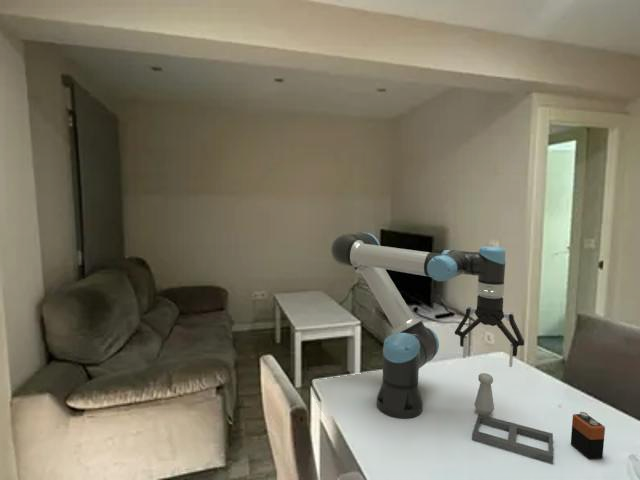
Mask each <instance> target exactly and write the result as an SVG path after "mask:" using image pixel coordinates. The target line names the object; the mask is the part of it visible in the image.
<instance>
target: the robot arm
mask: <svg viewBox="0 0 640 480" xmlns="http://www.w3.org/2000/svg"><path fill="white" fill-rule="evenodd" d="M330 247H331V248H330V253H331V255H332V256H331V257H332V258H333V260H334V261H335V262H336V263H337V264H339V265H342V266H349V267H352V268H353V269H354V271H355V273H358V274H360V275H362V277H363V278H364V280H365V282H366V283H367V285H368V287H369V288H370V290H371V292H372V294H373V295H374V297H375V298H376V301H377V302H378V304H379V306H380V308H381V309H382V311H383V313H384V314H385V316H386V317H387V319H388V321H389V323H390V325H391V327H392V328H393V329H394V330H393V333H392V334H389V335H388V336H386V338H385V339H384V341H383V347H382V383H381V384H380V388H379V391H378V394H377V396H376V406H377V409H378V410H379V411H380V412H382V413H384V414H385V415H387V416H389V417H393V418H398V419H411V418H416V417H417V416H420V415H421V414H422V412H423V410H424V402H423V401H424V400H423V397H422V394H421V391H420V389H419V374H420V373H419V371H420V368H422V367H423V366H425V365H426V364H427V363H428V362H430V361H432V360H433V359H434V358H435V356H436V355H438V352H439V349H440V342H439V337H438V336H437V333H435V331H434V330H433V329H432V328H430V327H427V326H425V324H424V323H423V320H422V319H418V318H416V317H415V316H414V314H413V312H412V311H411V309H410V308H409V306H408V304H407V303H406V301H405V299H404V298H403V297H402V296H403V295H401V292H400V291H399V290H398V288H397V287H396V284H395V283H394V282H393V280H392V279H391V277H390V275H389V273H388V272H387V271H388V270H389V271H394V272H400V273H406V274H411V275H419V276H425V277H429V278H431V279H432V280H434V281H436V282H447V281H450V280H451V279H453V278H455V277H458V276H460V275H468V276H476V277H478V278H477V294H478V295H477V298H476V299H477V301H476V309H474V308H471V307H470V306H468V307H467V308H466V309H465V315H464V317H463V318H462V320H461V321H460V323H459V324H458V326H457V328H456V329H455V331H454V334H455V336H456V335H457V336H458V337H459V347H462V358H464V359H466V358H467V355H468V354H467V353H468V334H469V333H470V332H471V331H473V329H475V327H477V326H478V325H480V323H481V324H482V325H484V326H487V325H488V326H491V327H494V326H497V328H498V329H499V330H500V331H501V332H502V334H503V335H504V336H505V337H506V339H508V341H509V342H510V345H509V346H510V347H509V359H508V361H509V363H508V364H509V365H508V367H509V368H512V367H513V362H514V357H517V355H518V347H520V346H521V347H522V346H523V347H524V345H525V339H524V337H523V336H522V334H521V331H520V330H519V327H518V324H517V323H516V320H515V313H513V312H510V313H504V298H503V296H504V294H505V274H506V271H505V269H506V263H507V262H506V250H505V249H504V248H503V247H501V246H483V245H482V246H480V247H479V250H478V251H468V250H467V251H466V250H465V251H464V250H456V249H445V250H443V251H442V252H441V253H438V252H429V251H421V250H415V249H414V250H413V249H407V248H398V247H391V246H386V245H385V246H383V245H380V242H379V240H378V238H377V237H376V236H375V235H374V234H372V233H369V232H363V231H360V232H356V233H345V234H341V235H339V236H338V237H336V238H335V239H334V240H333V242H332V244H331V246H330ZM474 314H475V317H476V319H475V320H474V321H473V322H472V323H471V324H470V325H469V326H467V327H466V328H465V329H464V330H463V331H462V329H463V327H464V326H465V324H466V323H467V321H468V319H469V317H470V316H473V315H474ZM504 318H505V319H506V321H508V322H509V324H510V327H511V329H512V330H513V333H514V335H515V337H516V338H515V337H514V335H513V334H512V333H511V331H510V330H509V329H508V327H507V326H506V325H505V323H504V322H503V319H504Z"/></svg>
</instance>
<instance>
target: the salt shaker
mask: <svg viewBox="0 0 640 480" xmlns="http://www.w3.org/2000/svg"><path fill="white" fill-rule="evenodd" d="M477 378H478V382H479V386H478V387H479V388H478V391H477V395H476V397H475V402H474V408H475V411H476V414H481V415H485V416H488V417H491V416H492V413H493V412H494V411H495V404H494V403H495V402H494V398H493V391H492V384H493V382H494V377H493V376H492V375H491V374H489V373H485V372H482V373H480V374H479V375H478V377H477Z"/></svg>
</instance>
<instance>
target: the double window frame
mask: <svg viewBox="0 0 640 480" xmlns="http://www.w3.org/2000/svg"><path fill="white" fill-rule="evenodd" d="M477 414H478V413H477ZM481 425H482V426H483V425H484V426H487V427H490V428H495V429H498V430H501V431H505V432H508V435H507V439H506V438H503V437H499V436H496V435H492V434H489V433H485V432H482V431H480V428H481ZM553 434H554V433H552V432H549V431H545V430H541V429H538V428H534V427H529V426H526V425H522V424H519V423H515V422H511V421H507V420H503V419H499V418H495V417H492V416H489V417H488V416H485V415H481V414H478V415H477V418H476V421H475V424H474V427H473V431H472V433H471V441H474V442H478V443H481V444H485V445H487V446H492V447H495V448H497V449H501V450H504V451H508V452H511V453H514V454H517V455H521V456H525V457H528V458H531V459H535V460H537V461H541V462H544V463H547V464H552V465H553V464H554V435H553ZM518 435H519V436H523V437H527V438H530V439H534V440H537V441H541V442H545V443H547V444H548V445H547V447H548V448H547V449H548V450H544V449H542V448H537V447H536V446H535V447H534V446H531V445H527V444H524V443H521V442H517V437H518Z"/></svg>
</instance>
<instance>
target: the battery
mask: <svg viewBox="0 0 640 480" xmlns="http://www.w3.org/2000/svg"><path fill="white" fill-rule="evenodd" d="M571 421H572V422H571V434H570V435H571V436H570V444H571V446H572V447H573V448H575V449H577V451H578V452H580V453H581V454H582V455H583V456H585V457H586V458H587V459H588V460H592V459H593V460H594V459H603V456H604V445H605V444H604V443H605V432H606V426H605V425H603V424H601V422H599V421H597V420H596V419H595V418H593V417H592V416H590V415H589V414H588V413H587V412H585V411H579V413H575V414H572V420H571Z"/></svg>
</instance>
